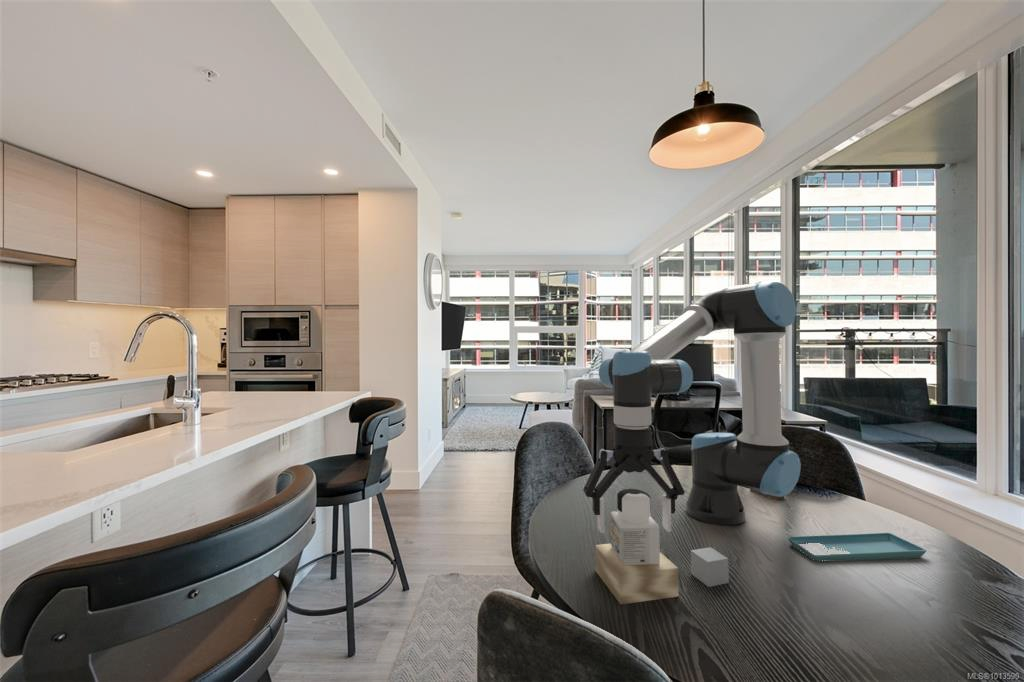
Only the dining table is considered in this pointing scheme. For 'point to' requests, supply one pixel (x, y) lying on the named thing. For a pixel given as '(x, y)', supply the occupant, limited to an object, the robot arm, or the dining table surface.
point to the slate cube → (709, 566)
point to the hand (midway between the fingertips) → (634, 529)
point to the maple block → (636, 577)
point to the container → (634, 529)
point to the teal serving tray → (861, 546)
